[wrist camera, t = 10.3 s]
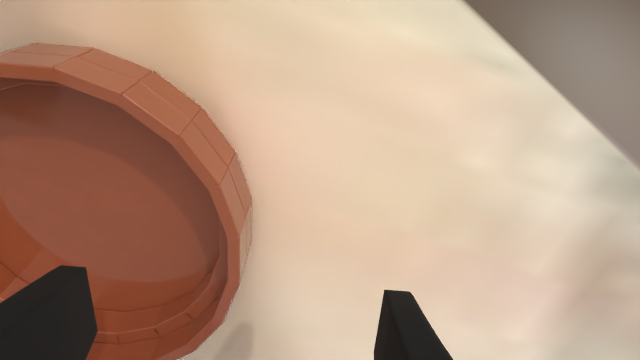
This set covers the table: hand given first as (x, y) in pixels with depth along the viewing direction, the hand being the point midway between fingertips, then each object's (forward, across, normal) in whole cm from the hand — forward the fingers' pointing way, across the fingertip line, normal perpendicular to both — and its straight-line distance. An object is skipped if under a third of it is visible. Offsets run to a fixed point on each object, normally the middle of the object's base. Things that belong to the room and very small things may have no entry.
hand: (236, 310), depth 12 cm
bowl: (+9, +8, +3) cm, 13 cm away
